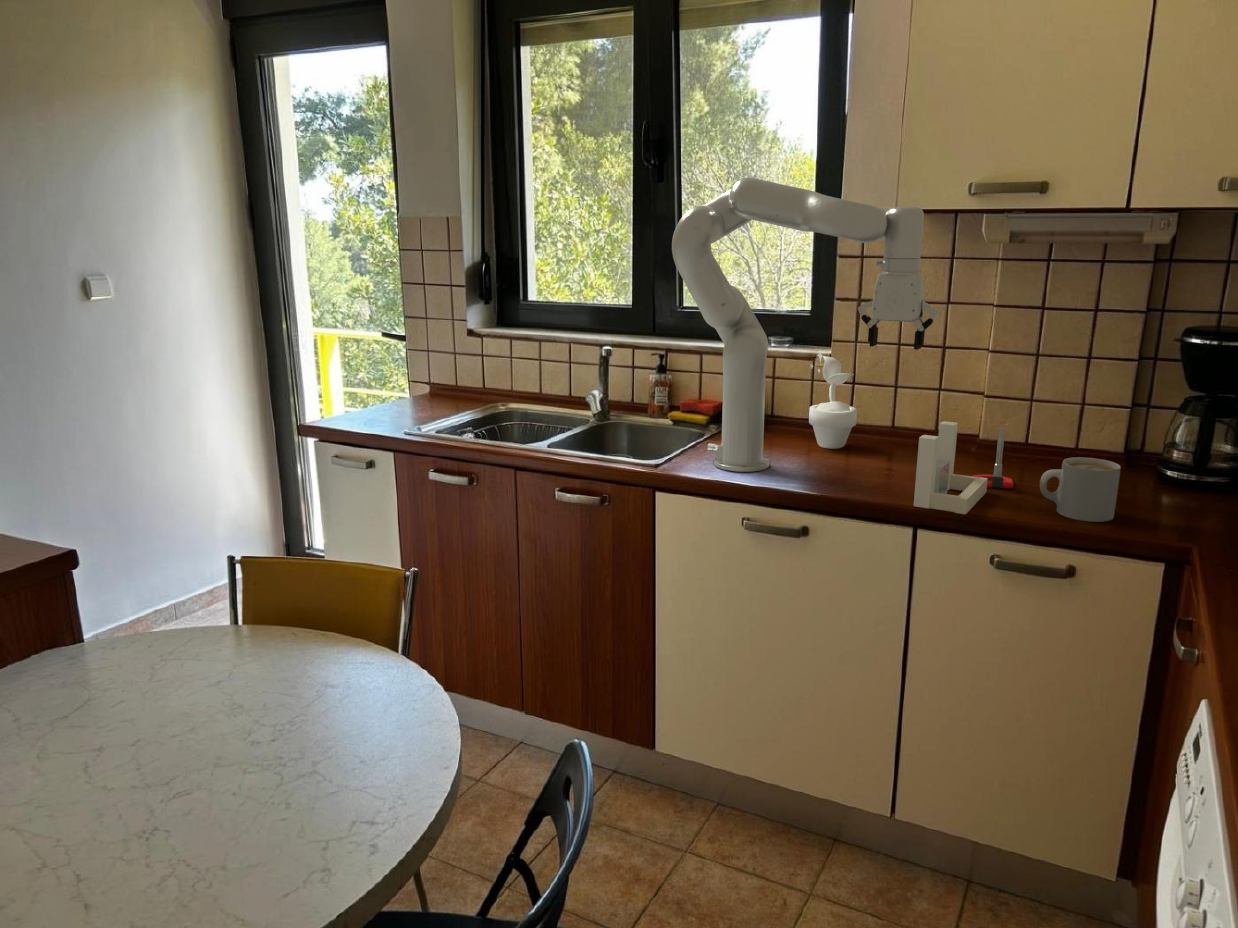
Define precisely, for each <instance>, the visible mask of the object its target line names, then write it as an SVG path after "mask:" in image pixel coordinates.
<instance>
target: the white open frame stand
mask: <svg viewBox="0 0 1238 928" xmlns="http://www.w3.org/2000/svg"><path fill="white" fill-rule="evenodd" d="M958 425H959V423H958V422H956V421H955V422H953V421H945V420H944V421H941V422H939V425H938V426H939V427H938V434H937V435H930V434H929V435H928V434H923V435H921V436H919V438H918V449H917V461H916V471H915V483H914V484H915V486H914V494H913V496H914V499H913V507H918V508H922V509H933V510H937V511H938V510H939V511H945V512H952V513H955V514H961V515H966V514H968V512H969V511H971V509H972V508H973V507H974V506H975V505H976V504H977V503H978V502H979V501H980V500H981V499H982V497H984V495H985V494H987V492H988V491H987V489H988V488H987V481H989V479H988V478H982V477H972V476H971V475H965V474H964V475H962V474H955V473H954V468H955V459H956V450H957V448H956V447H957V437H958ZM937 460H943V461H950V466H949V476H948V487H947V491H950V490H956V491H961V490H962V491H961V493H959V495H955V494H948V493H947V494H942V493H935V492H934V487H935V476H936V465H937Z"/></svg>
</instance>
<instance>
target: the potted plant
mask: <svg viewBox="0 0 1238 928" xmlns="http://www.w3.org/2000/svg"><path fill="white" fill-rule="evenodd" d="M816 356H817V357H818V359H819V362H821V361H822V358H823V360H824V364H823V367H822V376H823V379H824V380H825V381H826V383H828V384H830V385H829V391H828V399H829V402H821V403H819V404H813V405H811V406H809V411H808V412H809V414H808V423H809V425H811V426H812V428H813V432H814V436H815V439H816V442H817V445H818V446H819V447H820V448H823V449H830V450H837V449H841V448H843V447H845V446H846V443H847V441H848V438H849V436H850V433H851V431H852V429H853V427H856V425H857V416H858V409H857V408H856V407H854V406H852V405H851V406H850V405H849V403H845V402H842V401H838V400H836V388H837V386H841V385H843V384H845V382H846V381H847V380H848V379H849V378H850V377H851V376H854V375H855V374H854V373H848V372H845V373H842V364H841V361H839V360H837V359H836V358H835V357H831V356H825V355H823V354H822V351H821V348H820V349H819V352H818V354H817V355H816ZM813 367H814V365H813V363H811V364H810V369H813ZM817 372H818V373H820V372H821V369H820V368H818V369H817Z"/></svg>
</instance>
